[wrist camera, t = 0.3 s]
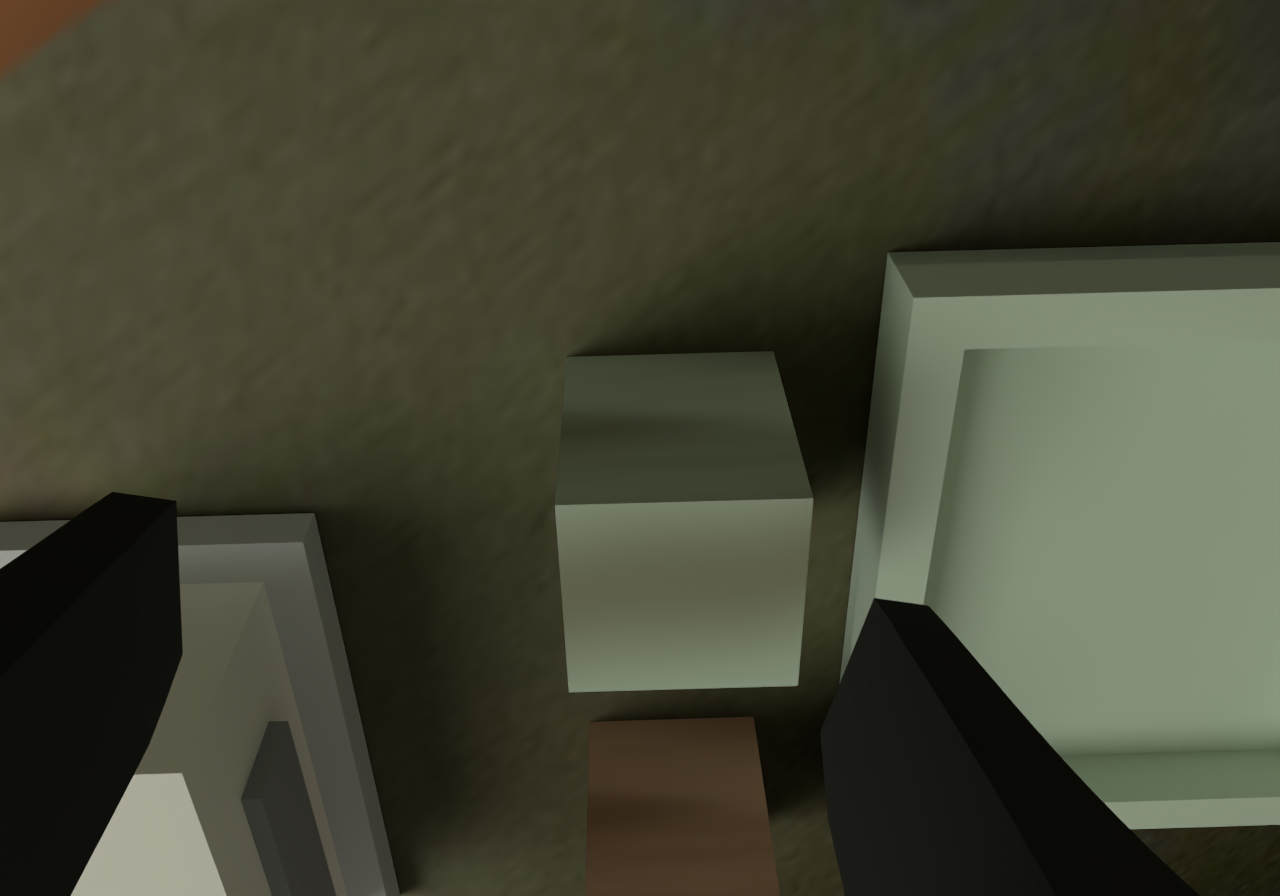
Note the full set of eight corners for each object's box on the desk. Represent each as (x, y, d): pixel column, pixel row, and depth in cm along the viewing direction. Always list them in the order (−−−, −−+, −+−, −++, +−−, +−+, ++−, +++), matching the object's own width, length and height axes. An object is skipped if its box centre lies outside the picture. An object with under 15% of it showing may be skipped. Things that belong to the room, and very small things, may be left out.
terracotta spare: (747, 823, 28) (771, 1007, 24) (596, 827, 28) (593, 1013, 24) (752, 715, 26) (780, 897, 22) (590, 720, 26) (585, 903, 22)
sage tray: (1299, 757, 27) (1344, 822, 26) (829, 771, 27) (844, 838, 25) (1536, 235, 20) (1622, 279, 18) (887, 252, 20) (913, 297, 18)
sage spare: (764, 517, 23) (797, 686, 19) (577, 522, 23) (568, 692, 19) (772, 350, 21) (813, 498, 17) (566, 355, 21) (554, 505, 17)
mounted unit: (400, 895, 29) (356, 1129, 24) (145, 904, 29) (48, 1140, 24) (314, 513, 22) (228, 729, 17) (-21, 522, 22) (-205, 742, 17)
